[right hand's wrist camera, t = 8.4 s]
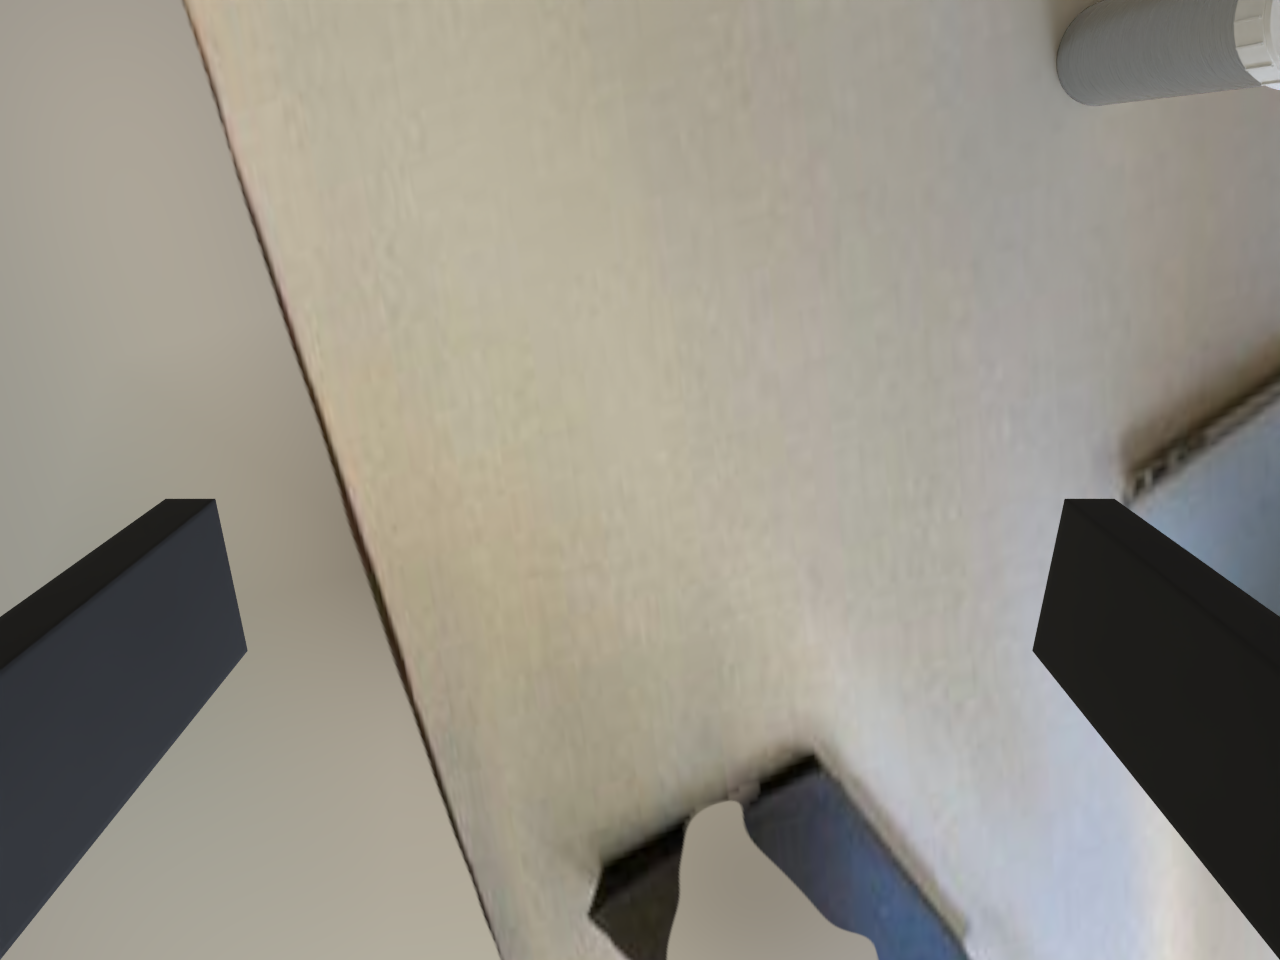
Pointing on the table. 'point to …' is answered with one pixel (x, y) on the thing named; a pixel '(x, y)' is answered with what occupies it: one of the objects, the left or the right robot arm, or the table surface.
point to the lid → (1259, 39)
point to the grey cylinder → (1151, 51)
